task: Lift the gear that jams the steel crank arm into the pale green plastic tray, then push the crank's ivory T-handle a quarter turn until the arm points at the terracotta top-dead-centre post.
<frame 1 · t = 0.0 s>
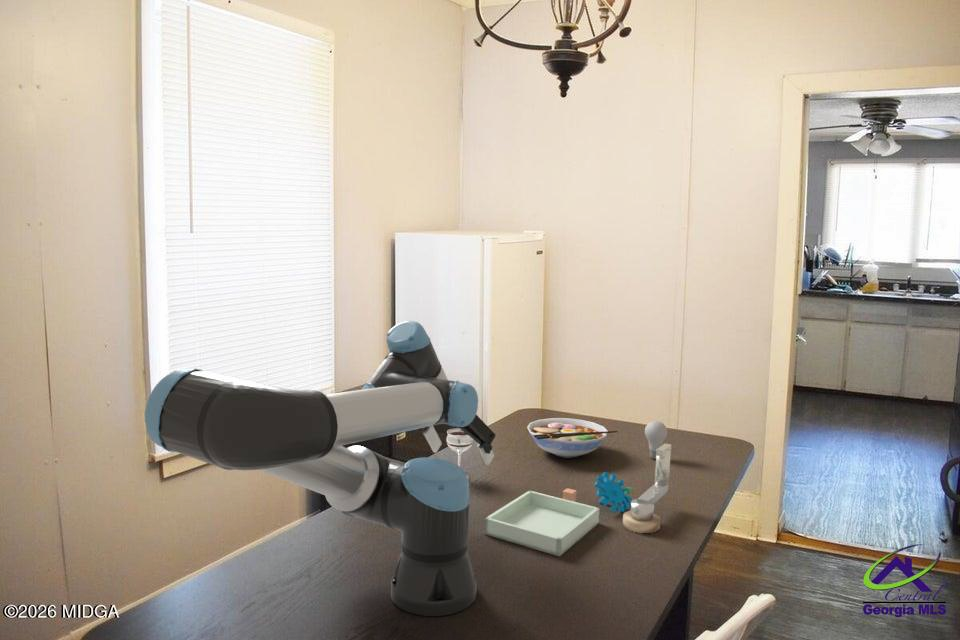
hand: (463, 454, 159), 15 cm above the table, tool tilted 35°, fingers open, 13 cm apart
crank pedestal: (641, 525, 162), on the table
tray: (542, 528, 159), on the table
wineglass: (458, 478, 188), on the table
ramen bowl: (566, 454, 209), on the table
crank: (653, 480, 166), point 8 cm above the table, hinge at 0.0°
lightbulb: (654, 459, 207), on the table
gear: (613, 508, 172), on the table
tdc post: (568, 507, 171), on the table
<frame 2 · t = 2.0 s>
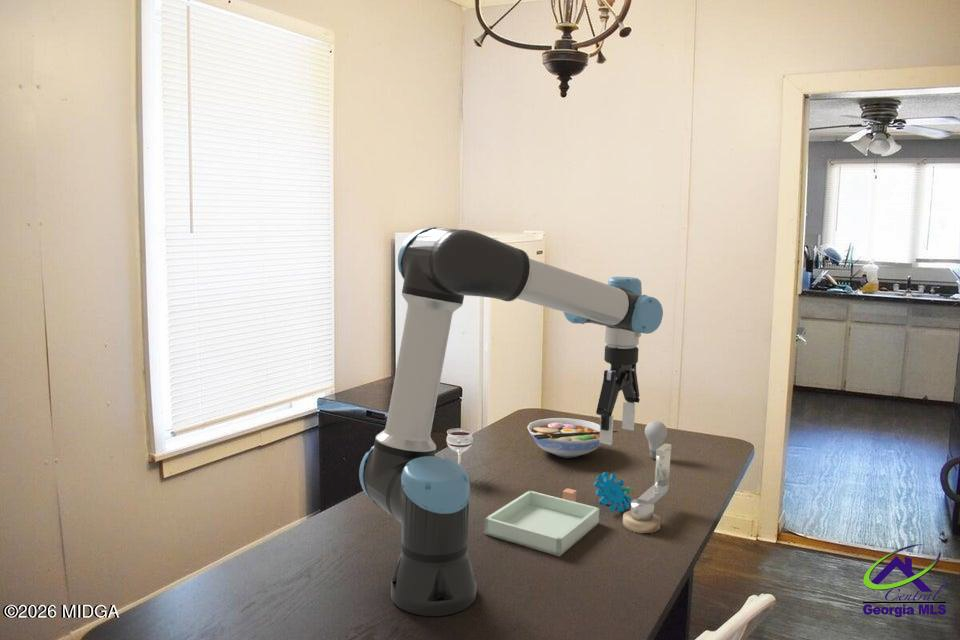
hand: (617, 436, 169), 17 cm above the table, tool pointing down, fingers open, 13 cm apart
nothing on the table moved.
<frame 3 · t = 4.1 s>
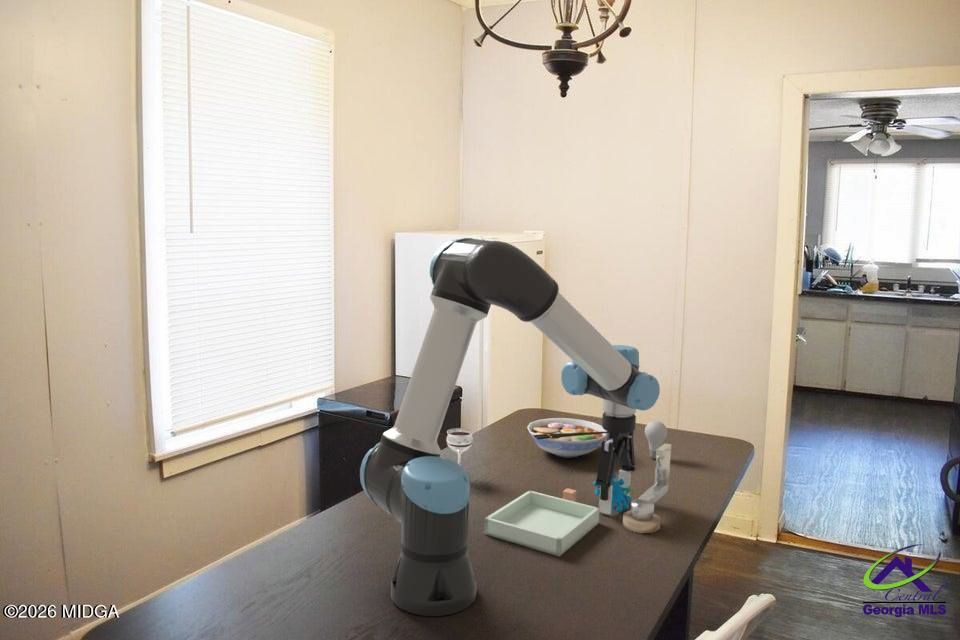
hand: (614, 504, 172), 1 cm above the table, tool pointing down, fingers closed on gear, 11 cm apart
gear: (612, 507, 172), on the table, touching gripper
everything else where it was.
when the fingers open (3 cm above the table, at t = 10.5 s): gear drops 2 cm, resting on tray.
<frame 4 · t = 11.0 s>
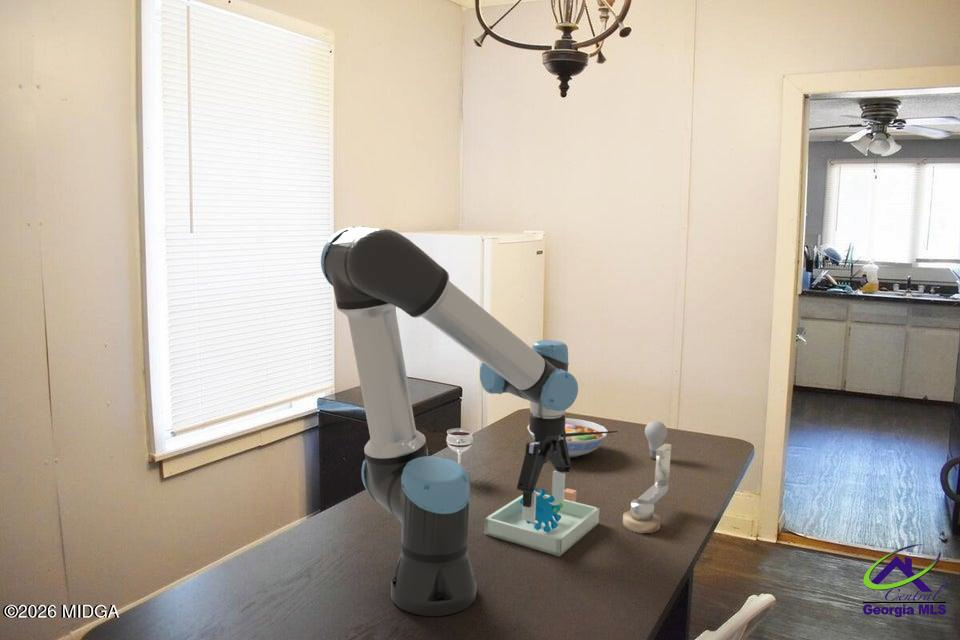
hand: (543, 510, 158), 4 cm above the table, tool pointing down, fingers open, 13 cm apart
gear: (541, 526, 159), resting on tray
everything else where it was.
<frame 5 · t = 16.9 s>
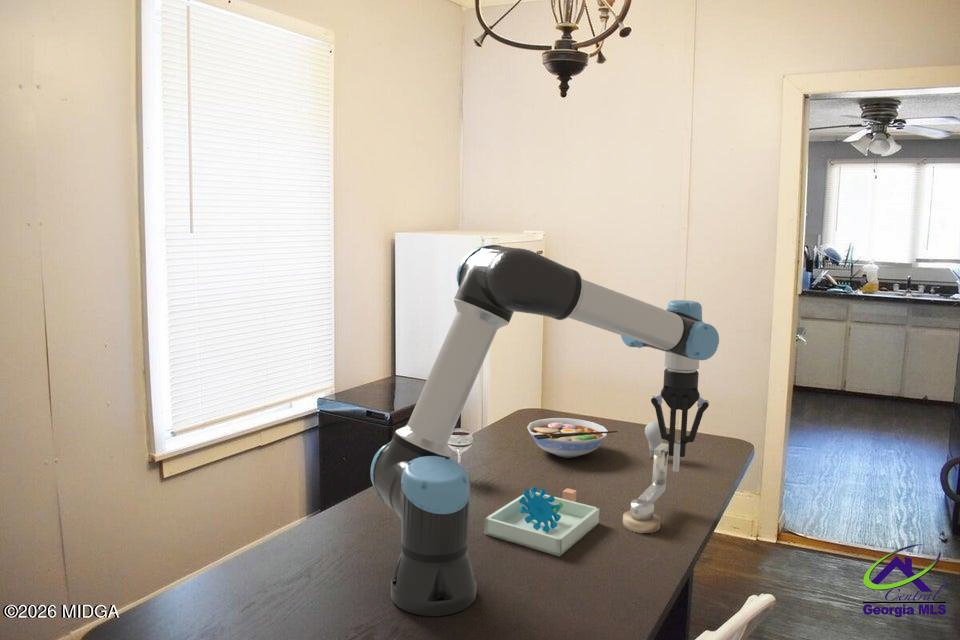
hand: (675, 469, 169), 10 cm above the table, tool pointing down, fingers closed
crank: (652, 480, 166), point 8 cm above the table, hinge at 2.7°, touching gripper
everything else where it was.
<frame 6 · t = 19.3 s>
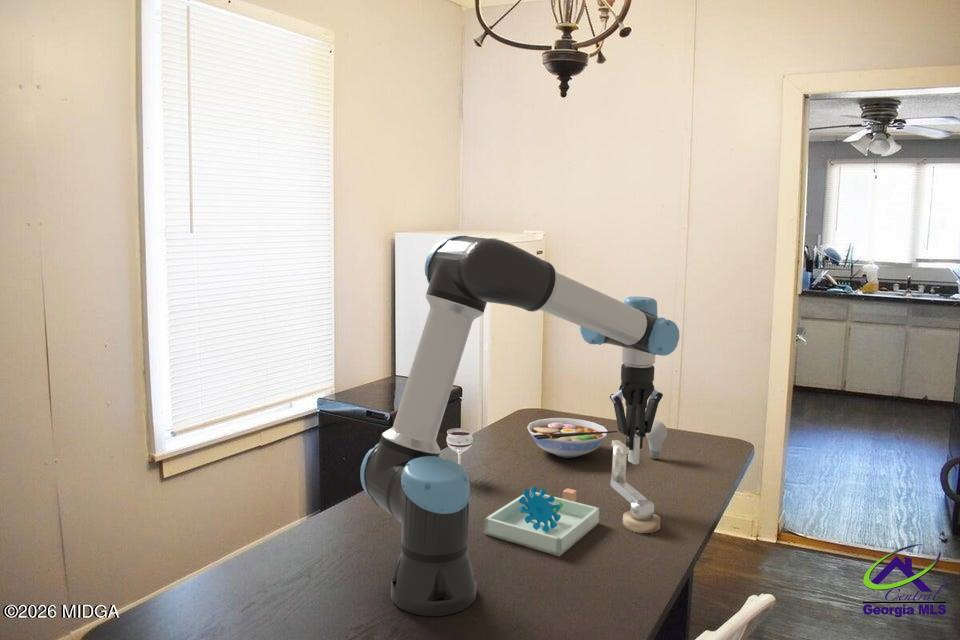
hand: (633, 462, 173), 10 cm above the table, tool pointing down, fingers closed
crank: (630, 478, 167), point 8 cm above the table, hinge at 46.7°, touching gripper
everything else where it was.
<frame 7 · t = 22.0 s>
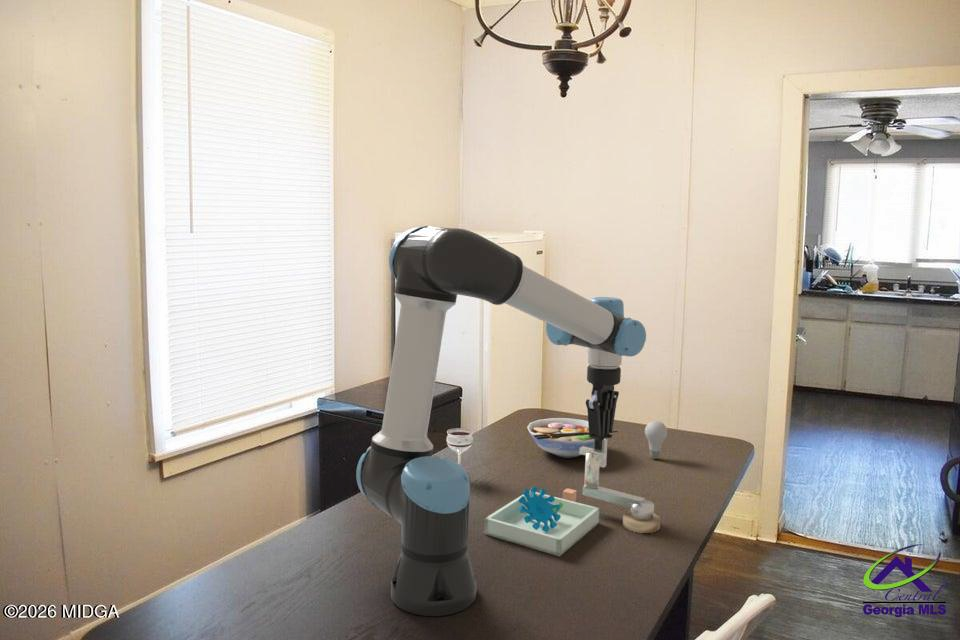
hand: (599, 465, 170), 10 cm above the table, tool pointing down, fingers closed
crank: (615, 482, 164), point 8 cm above the table, hinge at 87.1°, touching gripper
everything else where it was.
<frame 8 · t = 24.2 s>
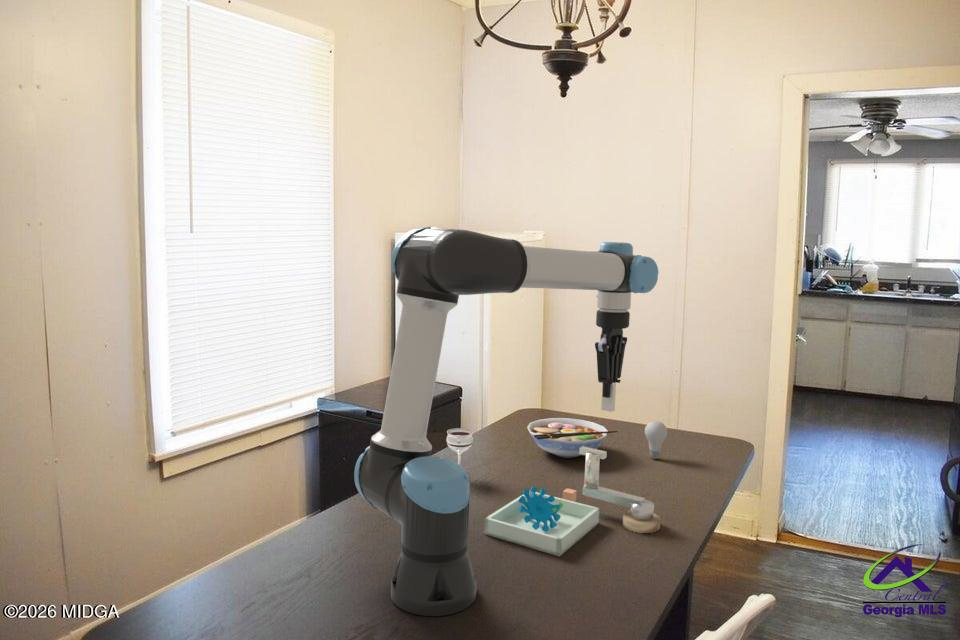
hand: (607, 410, 172), 22 cm above the table, tool pointing down, fingers closed
crank: (615, 482, 164), point 8 cm above the table, hinge at 87.1°
everything else where it was.
at the end: gear inside the target area on the tray (0.6 cm from its centre), point 0.4 cm above the tray's base; crank at +87° (first picture: +0°) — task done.
